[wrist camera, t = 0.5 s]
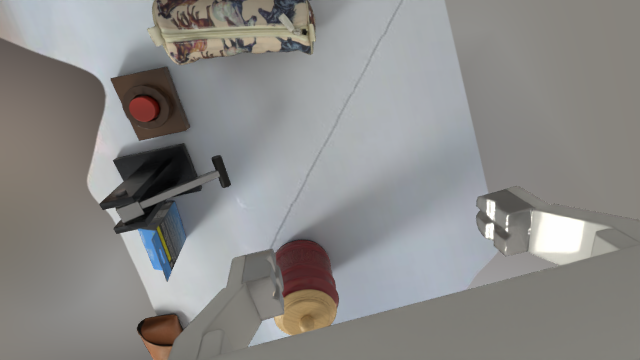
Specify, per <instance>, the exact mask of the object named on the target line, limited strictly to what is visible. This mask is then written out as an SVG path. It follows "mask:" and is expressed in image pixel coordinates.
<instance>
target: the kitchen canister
mask: <svg viewBox="0 0 640 360" xmlns="http://www.w3.org/2000/svg"><path fill="white" fill-rule="evenodd" d="M275 256H276V265H278V266H279V267H280V270H281V274H282V278H283V284H284V291H283V293H282V295H283V298H284V314H283V315H280V316H276V317H274V320H275V323H276V325H277V326H278V327H279V329H281V330H282V331H283V332H285V333H287V334H289V335H296V334H300V333H304V332H308V331H311V330H315V329H319V328H323V327H327V326H330V325H331V324H332V322H333V321H334V319H335V317H336V313H337V307H338V303H339V296H338V293H337V290H336V285H335V280H334V278H333V275H332V271H331V263H330V259H329V257H328V255H327V253H326V251H325V250H324V249H323V248H322V247H321V246H320V245H319V244H317V243H315V242H312V241H308V240H297V241H292V242H289V243H287V244H285V245H283V246H282V247H281V248H280V249H279V250H278V251H277V252H276V253H275Z"/></svg>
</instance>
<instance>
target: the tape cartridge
mask: <svg viewBox="0 0 640 360" xmlns="http://www.w3.org/2000/svg"><path fill="white" fill-rule="evenodd" d="M138 231H139V233H140V236H141V238H142V241H143V243H144V246H145V248H146V250H147V253H148V255H149V258H150V261H151V263H152V265H153V268H154V269H157V270H163V272H164V275H165V278H166V281H167V282H168V279H169V277H170V274H171V271H172V269H173V267H174V264H175V262H176V260H177V258H178V256H179V253H180V251H181V249H182V247H183V245H184V242H185V240H186V236H185V232H184V229H183V226H182V223H181V219H180V216H179V213H178V210H177V207H176V204H175V201H172V202H166V203H164V204H163V205H162V207H161V208H160V210H159V211H158V212H157V214H156V215H155V217H154V218H153V220H152V221H151V223H150V224H149V225H148V227H145V228H141V229H138Z"/></svg>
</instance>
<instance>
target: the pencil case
mask: <svg viewBox="0 0 640 360" xmlns="http://www.w3.org/2000/svg"><path fill="white" fill-rule="evenodd" d="M152 14H153V20H154V24H155V26H154V27H152V28H148V29H147V30H148V32H149V34H150V37H151V38H152V40H153V42H154V43H155V45H156V46H161V45H163V46H164V48H165V50H166V52H167V54H168V55H169V57H170V58H171V59H172V60H173V61H174V62H175V63H176V64H178V65H184V64H188V63H192V62H195V61H197V60H199V59H200V58H202V59H206V58H214V57H224V56H232V55H236V54H238V53H240V52H251V53H255V54H259V53H264V52H290V51H296V50H299V51H302V52H304V53H306V54H308V55H311V54H313V44H314V42H315V41H316V36H315V18H314V14H313V11H312V8H311V6H310V4H309V2H308V0H155V1H154V2H153V6H152Z"/></svg>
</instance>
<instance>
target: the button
mask: <svg viewBox="0 0 640 360" xmlns="http://www.w3.org/2000/svg"><path fill="white" fill-rule="evenodd" d="M129 110H130V113H131V114H132V116H133V117H134V118H135V119H137V120H139V121H142V122H147V121H150V120H152V119H154V118H155V117H156V116H157V115H158V113H159V106H158V104H157V102H156V101H155V100H154V99H153V98H151V97H149V96H140V97H137V98H135V99H133V100H132V101H131V102H130V105H129Z"/></svg>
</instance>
